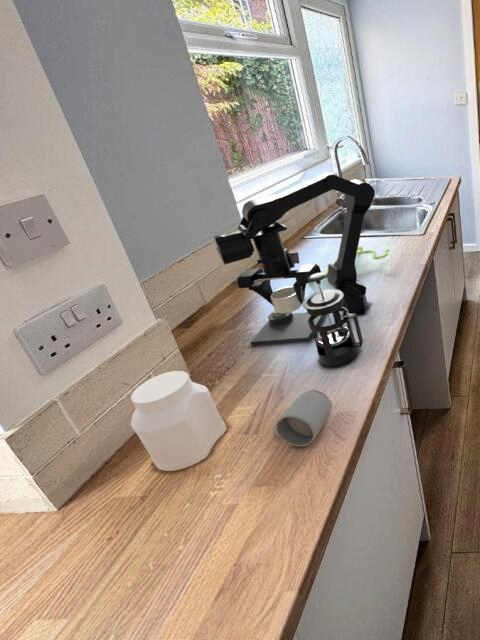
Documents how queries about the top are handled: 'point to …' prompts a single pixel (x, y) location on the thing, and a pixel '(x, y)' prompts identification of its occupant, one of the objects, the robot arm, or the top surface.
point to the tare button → (278, 314)
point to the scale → (286, 329)
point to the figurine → (365, 253)
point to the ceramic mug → (304, 418)
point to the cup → (285, 300)
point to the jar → (175, 420)
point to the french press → (332, 326)
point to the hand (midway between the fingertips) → (289, 303)
